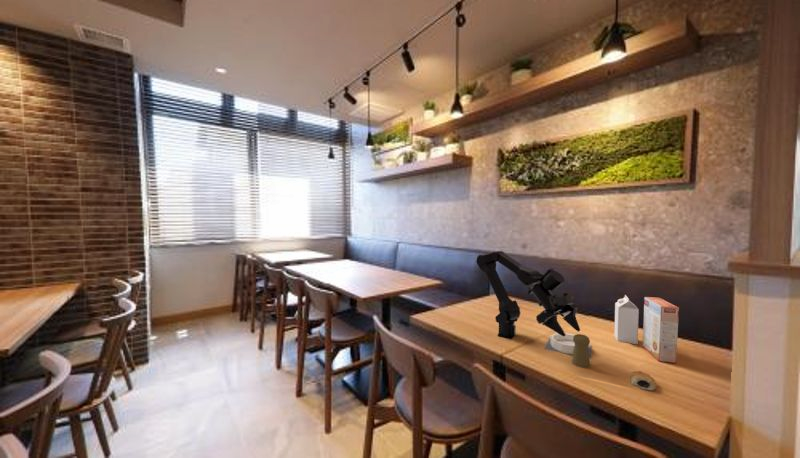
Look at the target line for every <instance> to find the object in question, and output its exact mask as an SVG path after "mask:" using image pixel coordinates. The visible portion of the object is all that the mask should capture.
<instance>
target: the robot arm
mask: <svg viewBox="0 0 800 458" xmlns="http://www.w3.org/2000/svg"><path fill="white" fill-rule="evenodd" d="M497 262H498V263H499V264H501V265H502V266H504V267H505V268H506V269H508V270H509V271H510V272H512V273H514V274H515V275H516V278H517V279H518V280H519V281H520V283H522V284H523V286H530V287H528V290H527V294H528V295H531V294H533V295H534V297H535V298H536V299H537V301H538V302H539V303H538V306H539V307H543V309H544V310H542V311H541V312H540V313H539V314H537V315H536V318H535V320H536V321H537V323H538V324H539V325H541V324H542V326H545V327H547V328H549V329H550V330H552V331H553V332H556V333H558V334H560V335H562V336H563V337H564V336H565V331H564V330H563V328H562V326H561V324H560V323H559V321H558V316H561V317H562V320H564V321H565V322H566V323H567V324H568V325H570V326H571V327H572V328H573V329H574V331H577V332H580V331H581V328H580V325H579V323H578V320H577V317H576V315H577V314H576V313H577V311H578V309H579V307H578V306H577V304H576V303H574V300H575V299H574V298H575V296H574V295H573V294H572V293H571V292H570V291H568V292H564V293H563V294H562V296H558V295H557V294H553V293H552V292H553V291H555V290H556V289H557V288H559V286H561V285H562V284H563V283H564V282H565V278H564V276H563V274H561V273H559V272H558V271H556V270H554V269H553V268H549V269H547V270H546V272H545V273H544V274H542V273H540V272H539V271H538V270H537V269H535V268H531V267H528V266H526V265H523V264H521V263H520V262H519V261H517V260H515V259H513V258H512V257H511V256H509V255H508V254H506V253H505V252H504V251H502V250H497V251H493V252H491V253H485V254H484V253H483V254H478V256H477V257H476V261H475V263H476V265H477V266H478V268H479V270H480V271H482V272H483V273H485V275H486V277H487V280H488V281H489V283H490V286H491V288H492V290H493V293H494V294H495V297H496V299H497V301H498V312H499V313H498V314H497V315H496V316H494V318H495V322H496V323H498V333H497V337H502V338H507V339H511V340H512V339H513V338H514V337H515V336H516V334H517V329H516V328H517V327H516V325H515V323H516V322H518V320H519V318H520V316H521V310H520V309H521V307H519V304H518V301H516V300H512V299H511V298H510V296H509V294H508V292H507V290H506V288H505V286H504V284H503V282H502V280H501V278H500V276H499V273H498V272H497ZM531 285H532V286H531ZM551 291H552V292H551Z"/></svg>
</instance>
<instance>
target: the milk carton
mask: <svg viewBox="0 0 800 458" xmlns="http://www.w3.org/2000/svg"><path fill="white" fill-rule="evenodd" d="M639 311H640V310H639V308H638V307H637V305H636V304H634V303H633V302H632V301H631V300H630V298H629V297H628V296H627V295H626V294H624V296H623V298H619V299H617V302H615V303H614V338H615V339H616V341H617V342H623V343H629V344H630V345H631V344H632V345H638V343H639V342H638V341H639V339H638V338H639V313H640V312H639Z"/></svg>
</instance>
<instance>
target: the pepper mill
mask: <svg viewBox="0 0 800 458" xmlns="http://www.w3.org/2000/svg"><path fill="white" fill-rule="evenodd" d="M574 335H575V336H574V337H573V341H574V343H575V346H574V351H573V355H572V357H571V364H572V365H574V366H576V367H577V368H582V369H583V368H584V369H587V368H590V367H591V360H590V358H589V351H588V345H589V346H590V343H591V341H590V338H589V337H588V336H587V335H586V334H580V333H578V334H577V333H576V334H574Z"/></svg>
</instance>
